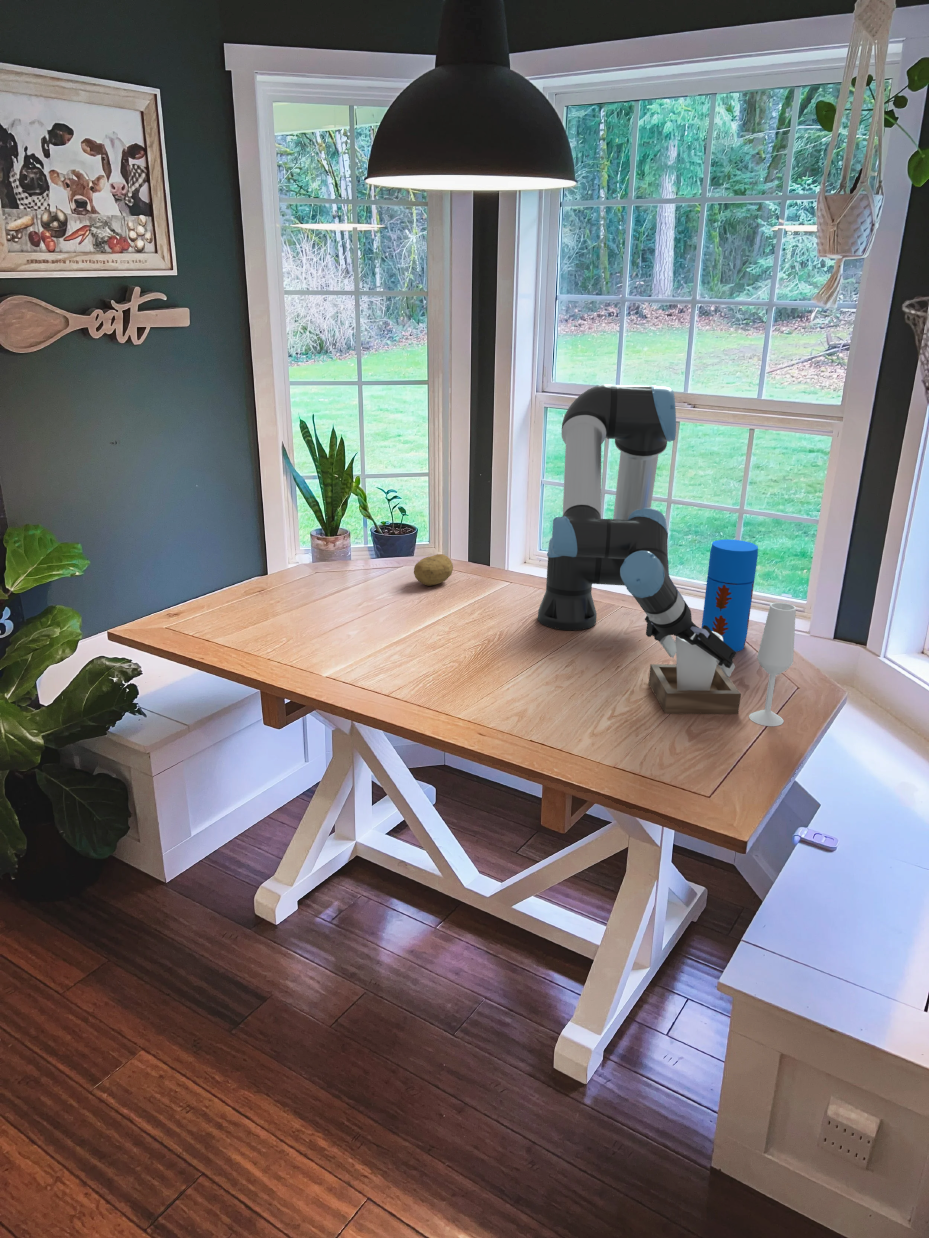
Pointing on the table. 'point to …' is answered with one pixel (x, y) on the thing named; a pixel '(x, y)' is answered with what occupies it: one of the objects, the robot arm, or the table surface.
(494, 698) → the table surface
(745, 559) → the thermos
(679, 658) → the foam cup
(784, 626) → the champagne flute
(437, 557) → the potato
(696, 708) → the square wooden tray
